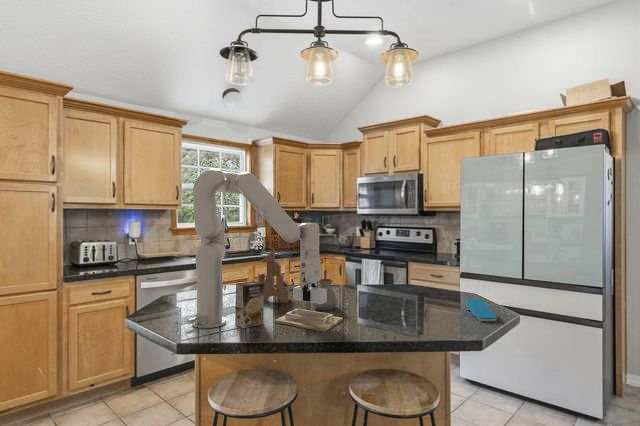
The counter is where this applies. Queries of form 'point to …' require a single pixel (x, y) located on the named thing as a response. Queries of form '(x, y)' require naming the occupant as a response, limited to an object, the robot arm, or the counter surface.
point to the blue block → (479, 309)
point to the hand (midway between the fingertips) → (309, 299)
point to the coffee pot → (330, 295)
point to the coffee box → (249, 304)
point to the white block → (311, 295)
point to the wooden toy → (272, 271)
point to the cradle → (309, 319)
